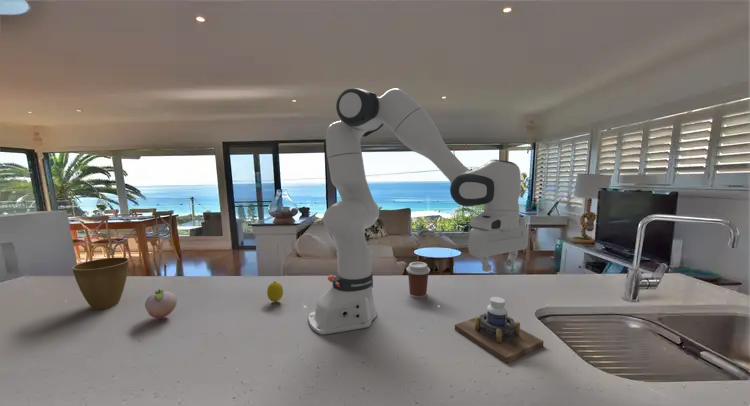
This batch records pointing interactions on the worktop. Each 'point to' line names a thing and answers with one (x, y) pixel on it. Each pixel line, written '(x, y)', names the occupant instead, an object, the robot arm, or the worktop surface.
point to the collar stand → (499, 338)
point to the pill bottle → (497, 313)
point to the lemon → (275, 291)
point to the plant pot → (102, 281)
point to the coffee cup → (418, 279)
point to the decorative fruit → (160, 304)
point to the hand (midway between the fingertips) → (498, 268)
